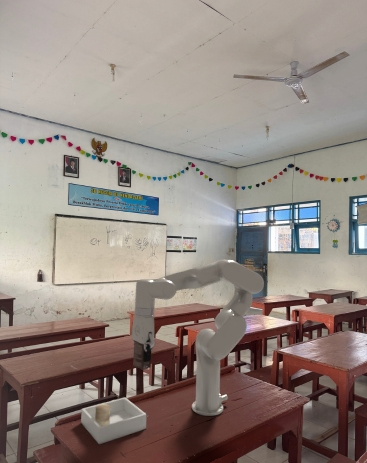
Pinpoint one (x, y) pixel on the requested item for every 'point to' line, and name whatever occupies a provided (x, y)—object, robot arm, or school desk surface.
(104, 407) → the beige piece
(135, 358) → the box
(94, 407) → the tote
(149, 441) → the school desk surface
